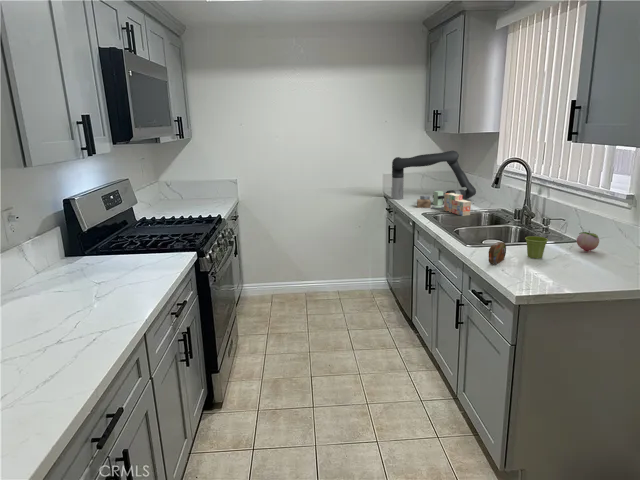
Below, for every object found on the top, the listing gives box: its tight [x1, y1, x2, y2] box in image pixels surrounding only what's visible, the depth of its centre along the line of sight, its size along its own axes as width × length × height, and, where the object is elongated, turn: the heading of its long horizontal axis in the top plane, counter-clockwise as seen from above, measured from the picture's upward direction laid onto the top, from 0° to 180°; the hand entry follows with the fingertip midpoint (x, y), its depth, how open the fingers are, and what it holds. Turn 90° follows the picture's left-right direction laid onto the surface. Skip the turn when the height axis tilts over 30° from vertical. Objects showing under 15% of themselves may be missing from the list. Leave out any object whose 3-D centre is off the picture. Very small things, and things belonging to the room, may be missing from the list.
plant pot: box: [524, 235, 549, 260], centre depth 199 cm, size 9×9×9 cm
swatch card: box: [430, 205, 444, 210], centre depth 317 cm, size 9×7×1 cm
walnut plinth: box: [416, 198, 432, 209], centre depth 323 cm, size 9×9×5 cm
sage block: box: [432, 190, 444, 207], centre depth 328 cm, size 5×5×10 cm
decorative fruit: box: [576, 230, 600, 252], centre depth 205 cm, size 9×8×10 cm
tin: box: [488, 241, 507, 265], centre depth 195 cm, size 15×3×8 cm, turn 138°
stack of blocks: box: [443, 192, 472, 217], centre depth 298 cm, size 21×6×12 cm, turn 19°
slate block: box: [419, 194, 431, 200], centre depth 334 cm, size 5×5×6 cm
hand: (435, 197), depth 327 cm, fingers closed on sage block, 5 cm apart
